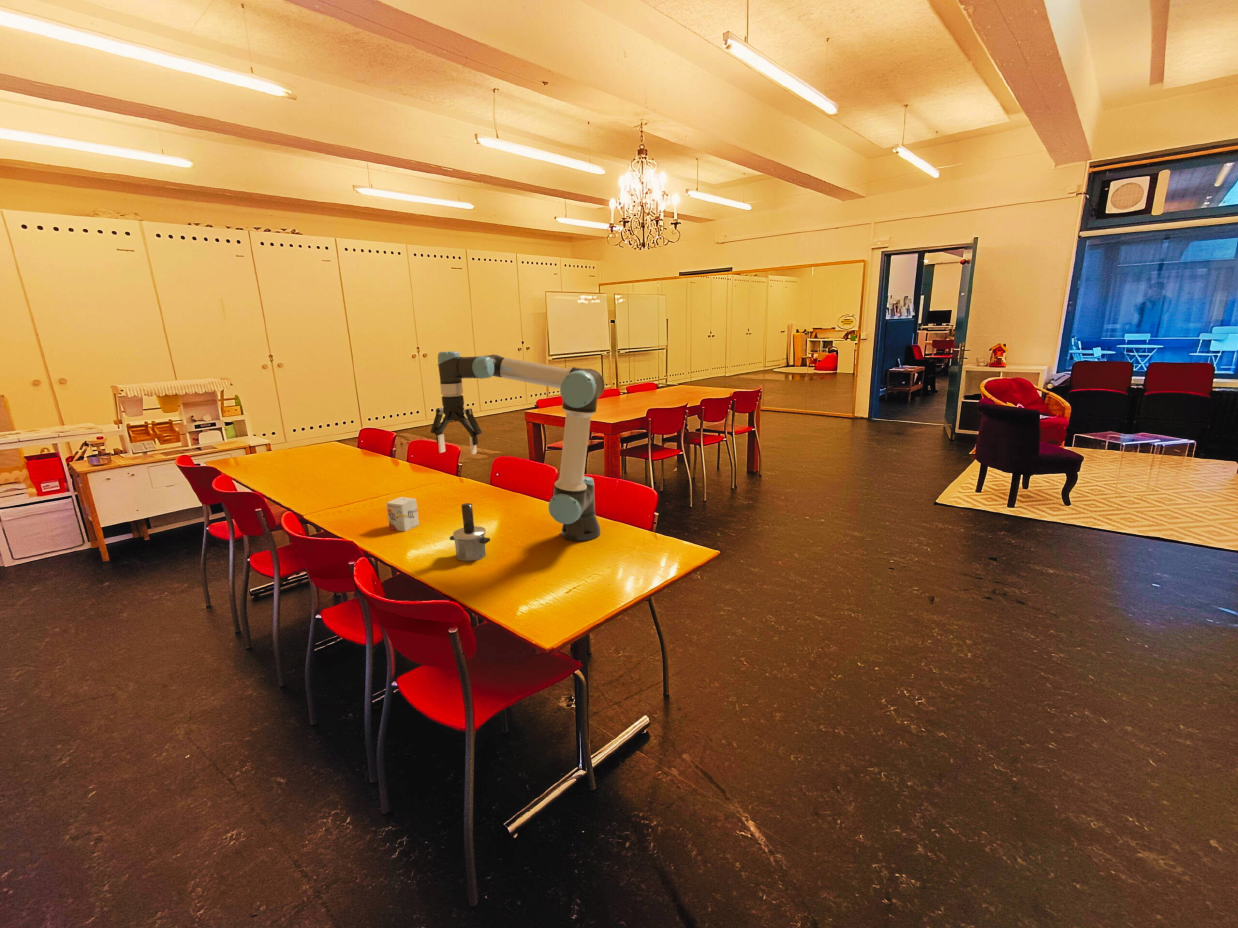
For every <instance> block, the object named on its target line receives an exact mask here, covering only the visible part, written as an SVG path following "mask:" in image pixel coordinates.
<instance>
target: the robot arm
mask: <svg viewBox="0 0 1238 928" xmlns="http://www.w3.org/2000/svg"><path fill="white" fill-rule="evenodd" d="M437 366H438V373H439V385H440V394H441V395H442V396H441V405H442V407H443V408H442V407H439V408H436V409H435V417H434V420H433V422H432V426H431V429H430V433H431V434H434V435H435V436H436V437H435V438H436V443H437V444H438V452H439V454H441V453H442V454H443V453H444V452H445V453H446V441H445V434H444V433H443V432H444V431H445V429H446V428H447V426H448V424H449V423H450V422H458V423H460V424H461V425H462V426H463V427H464V429H465V430H466V431H467V432H468V433H469V435H470V436H469V437H468V438H469V448H470V455H476V454H477V453H478V450H477V445H478V444H479V443H478V442H479V440H478V435H482V434H483V432H482V429H481V428H480V425H479V424H478V422H477V419H476V418H475V415H474V413H473V409H472V408H466V409H465V407H464V406H465V400H464V398H465V397H464V396H463V393H464V390H463V389H464V388H463V379H481V380H483V379H489V378H492V377H497V378H503V379H506V380H507V379H508V380H513V381H518V382H524V383H527V384H534V385H539V386H544V387H550V388H555V389H559V390H560V396H561V399H562V407H561V409H562V410H563V412H564V413H565V423H564V431H563V439H562V450H561V461H560V468H559V469H560V470H559V478H558V479H557V480H556V481H555V482H554V487H553V494H552V495H553V496H552V497H551V498H550V500H549V502H548V512H549V514H550V516H551V517H552V518H553V520H554V521H556V522H558V523H560V524H562V527H561V537H562V538H563V539H564V540H568V541H571V542H572V541H574V542H584V541H590V540H593V539H596V538H598V537H599V536H600V535H601V526H600V524H599V520H598V519H597V515H596V501H595V500H596V499H595V481H594V478H593V477H590V476H585V470H586V461H587V454H588V453H587V452H588V447H589V446H588V445H589V435H590V428H591V419H592V416H593V415H595V413H596V412H597V407H598V406H597V405H598V399H599V398H600V397H601V396H602V395H603V394H604V391H605V387H606V386H605V385H606V384H605V379H604V378H603V375H602V374H601V373H600V372H598V371H597V370H596V369H593V368H581V367H575V366H574V367H573V366H572V367H570V368H564V367H558V366H552V365H548V364H543V363H537V362H531V361H526V360H520V359H515V358H511V357H510V358H509V357H503V356H502V355H498V354H489V355H478V356H461V355H460V352H459V351H456V350H455V351H451V350H450V351H440V352H438V354H437ZM443 415H444V417H443Z"/></svg>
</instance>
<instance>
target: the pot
mask: <svg viewBox="0 0 1238 928" xmlns="http://www.w3.org/2000/svg"><path fill="white" fill-rule="evenodd" d="M449 540H450V541H454V545H455V546H454V547H455V554H456V555H455V556H456V559H457V560H458V561H460V562H465V563H467V562H476V561H480V560H482V559H483V558H485V557H486V554H487V553H486V552H487V551H486V550H487V549H486V544H487V543H489V542H490V541H491V538H490V537H486V536H485V535H484V536H483V537H481V538H478V539H475V540H468V541H461V540H456V539H454V537H453V535H451V536H449Z"/></svg>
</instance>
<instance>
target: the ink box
mask: <svg viewBox="0 0 1238 928" xmlns="http://www.w3.org/2000/svg"><path fill="white" fill-rule="evenodd" d="M385 503H386V510H387V517H388V518H387V519H388V527H389V530H392V531H400V532H407V531H409V530H411V529H414V528H416V527H417V526H419V525H420V521H419V513H418V504H417V498H412V497H405V496H404V497H403V496H399V497H397V498H394V499H393V500H389V501H388V502H385Z"/></svg>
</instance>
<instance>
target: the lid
mask: <svg viewBox="0 0 1238 928" xmlns="http://www.w3.org/2000/svg"><path fill="white" fill-rule="evenodd" d="M461 515H462V522H463V523H462V527H461V528H458V529H456V530H455V531H453V533H452V536H453V537H454V539H456V540H461V541H468V540H475V539H478V538H481V537H483V536H484V537H485V535H486V534H487V533H486V528H484V527H483V526H479V525H475V521H474V510H473V503H471V502H468V503H462V504H461Z"/></svg>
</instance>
